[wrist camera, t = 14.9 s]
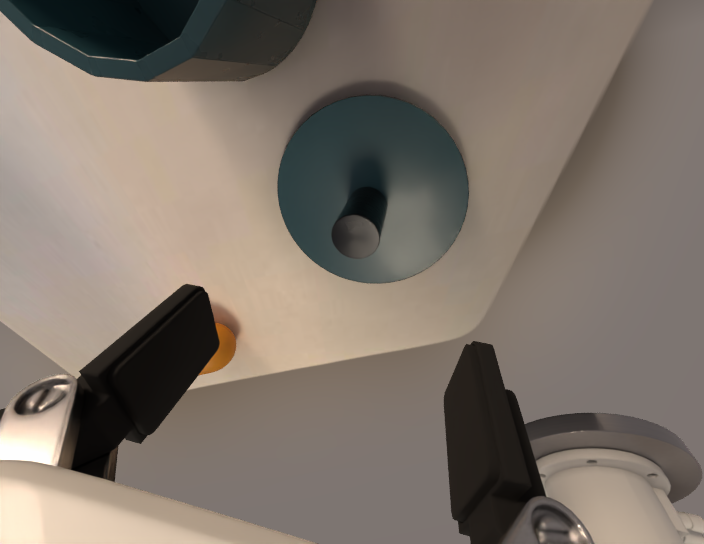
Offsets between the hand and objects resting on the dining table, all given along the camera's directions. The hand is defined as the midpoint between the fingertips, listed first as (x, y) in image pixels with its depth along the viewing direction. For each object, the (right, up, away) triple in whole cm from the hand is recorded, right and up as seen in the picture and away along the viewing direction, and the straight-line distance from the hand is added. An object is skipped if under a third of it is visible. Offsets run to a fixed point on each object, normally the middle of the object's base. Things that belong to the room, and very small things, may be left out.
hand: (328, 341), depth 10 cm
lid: (+2, +8, +10) cm, 13 cm away
